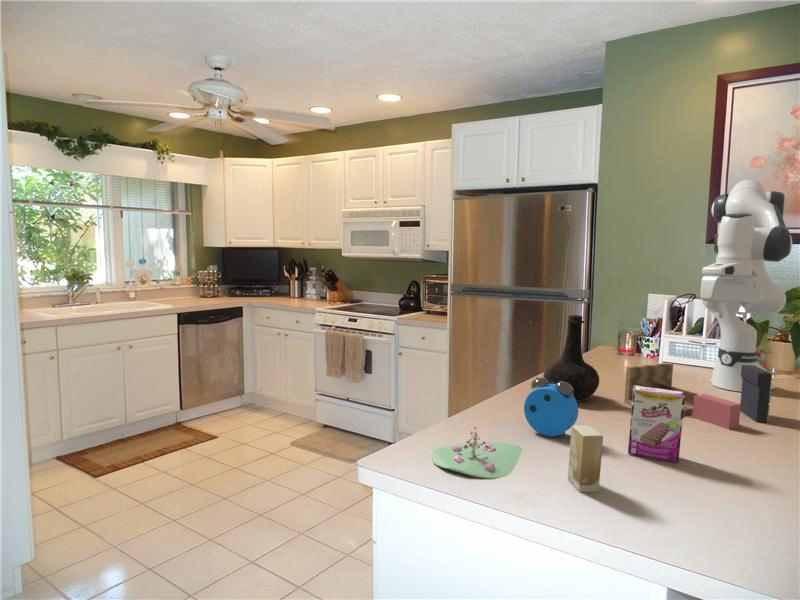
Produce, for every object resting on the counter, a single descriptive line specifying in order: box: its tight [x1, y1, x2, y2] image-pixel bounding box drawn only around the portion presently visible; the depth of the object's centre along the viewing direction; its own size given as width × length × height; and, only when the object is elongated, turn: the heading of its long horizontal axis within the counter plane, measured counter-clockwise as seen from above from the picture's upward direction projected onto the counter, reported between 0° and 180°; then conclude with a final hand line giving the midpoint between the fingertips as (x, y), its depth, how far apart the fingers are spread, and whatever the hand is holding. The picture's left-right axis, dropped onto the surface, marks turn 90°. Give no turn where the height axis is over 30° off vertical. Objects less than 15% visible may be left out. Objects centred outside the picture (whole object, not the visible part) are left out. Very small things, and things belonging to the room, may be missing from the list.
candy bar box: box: [627, 386, 685, 463], centre depth 124 cm, size 11×5×16 cm, turn 65°
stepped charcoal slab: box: [739, 365, 773, 423], centre depth 156 cm, size 11×4×15 cm, turn 168°
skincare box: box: [567, 424, 604, 493], centre depth 107 cm, size 6×4×12 cm
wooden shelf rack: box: [623, 362, 699, 416], centre depth 164 cm, size 20×16×12 cm
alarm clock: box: [523, 376, 579, 438], centre depth 137 cm, size 13×6×15 cm, turn 52°
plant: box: [431, 426, 523, 479], centre depth 121 cm, size 25×21×9 cm
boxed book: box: [692, 393, 741, 430], centre depth 150 cm, size 4×11×7 cm, turn 24°
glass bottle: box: [542, 314, 600, 402], centre depth 171 cm, size 18×18×28 cm
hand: (729, 317), depth 147 cm, fingers open, 8 cm apart
